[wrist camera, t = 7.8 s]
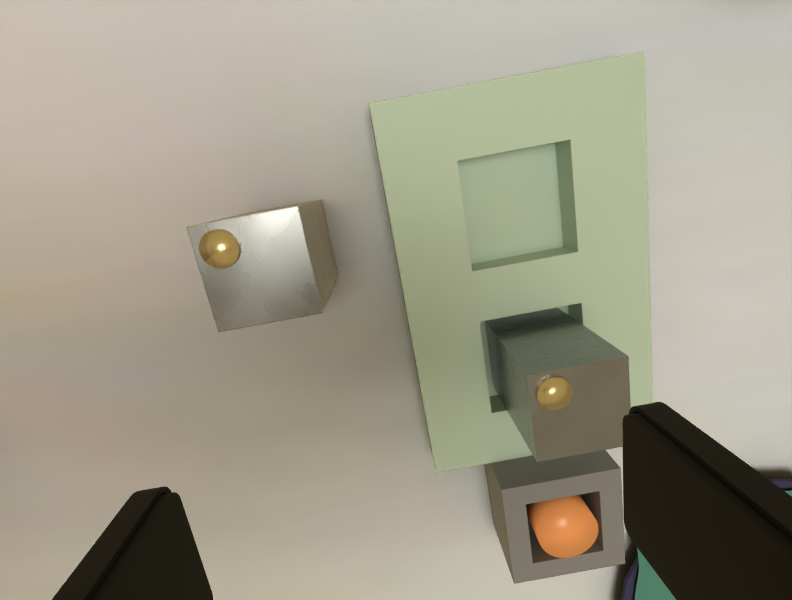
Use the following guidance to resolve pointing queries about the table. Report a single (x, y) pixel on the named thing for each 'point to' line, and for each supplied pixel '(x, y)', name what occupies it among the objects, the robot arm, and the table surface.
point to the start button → (563, 525)
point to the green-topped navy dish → (642, 585)
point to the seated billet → (559, 383)
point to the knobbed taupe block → (266, 265)
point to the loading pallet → (521, 267)
